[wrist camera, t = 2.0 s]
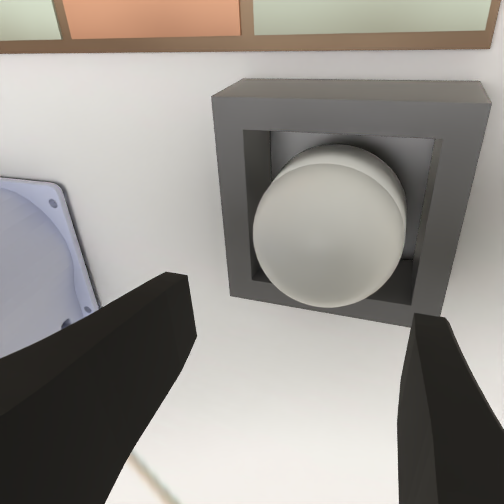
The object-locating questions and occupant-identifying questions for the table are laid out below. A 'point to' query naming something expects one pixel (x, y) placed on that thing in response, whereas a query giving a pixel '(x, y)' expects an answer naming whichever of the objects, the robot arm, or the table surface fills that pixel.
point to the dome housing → (353, 123)
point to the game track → (243, 25)
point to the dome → (331, 226)
